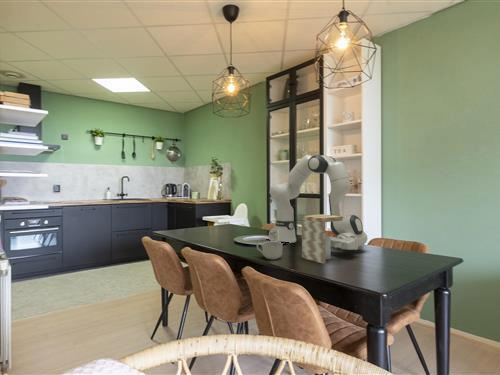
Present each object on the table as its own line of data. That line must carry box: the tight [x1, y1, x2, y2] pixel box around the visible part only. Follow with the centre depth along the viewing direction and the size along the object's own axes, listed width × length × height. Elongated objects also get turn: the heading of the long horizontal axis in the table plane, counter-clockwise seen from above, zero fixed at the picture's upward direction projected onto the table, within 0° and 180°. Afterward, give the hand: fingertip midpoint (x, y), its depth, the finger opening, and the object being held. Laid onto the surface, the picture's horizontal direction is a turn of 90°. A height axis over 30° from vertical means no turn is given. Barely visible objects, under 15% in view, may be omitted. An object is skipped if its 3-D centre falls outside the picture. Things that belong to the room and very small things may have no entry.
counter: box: [301, 213, 343, 265], centre depth 158 cm, size 15×14×22 cm
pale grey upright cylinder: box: [325, 235, 332, 260], centre depth 159 cm, size 6×6×11 cm
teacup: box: [256, 240, 284, 261], centre depth 161 cm, size 14×11×8 cm
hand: (326, 244), depth 160 cm, fingers open, 8 cm apart
